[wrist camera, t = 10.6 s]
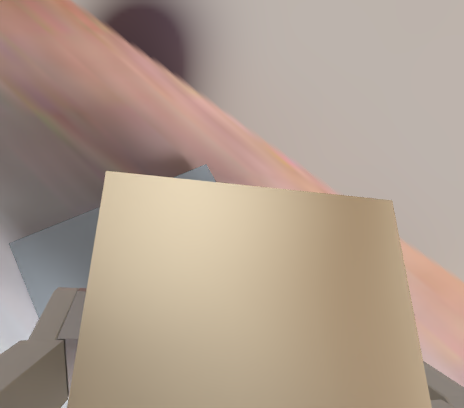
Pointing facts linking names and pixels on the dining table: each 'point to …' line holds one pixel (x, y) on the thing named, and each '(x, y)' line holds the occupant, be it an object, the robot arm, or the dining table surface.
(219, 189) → the maple block
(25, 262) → the base plate
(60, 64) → the dining table surface
